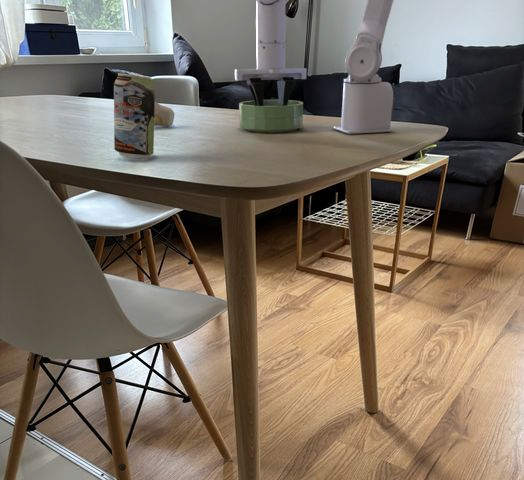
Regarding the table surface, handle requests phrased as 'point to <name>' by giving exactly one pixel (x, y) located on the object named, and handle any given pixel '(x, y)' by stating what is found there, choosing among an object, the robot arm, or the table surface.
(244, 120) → the bowl
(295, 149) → the table surface
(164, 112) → the mug
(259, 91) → the robot arm
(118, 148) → the tall printed two-tone box
